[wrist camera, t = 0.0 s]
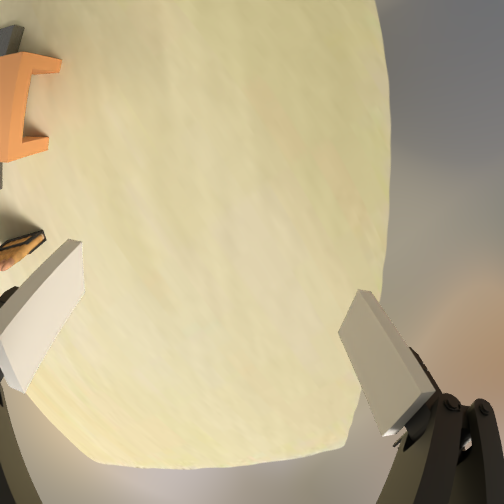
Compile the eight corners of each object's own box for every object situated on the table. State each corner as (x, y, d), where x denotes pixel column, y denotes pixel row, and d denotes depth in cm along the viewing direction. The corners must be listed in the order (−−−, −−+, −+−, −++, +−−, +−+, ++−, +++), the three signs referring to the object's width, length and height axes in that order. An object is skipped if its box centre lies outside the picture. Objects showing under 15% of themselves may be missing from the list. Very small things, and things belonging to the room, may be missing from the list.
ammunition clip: (43, 230, 39) (2, 263, 28) (47, 240, 40) (7, 275, 29) (6, 240, 39) (-33, 272, 28) (9, 249, 40) (-28, 282, 29)
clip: (38, 62, 27) (-2, 57, 18) (62, 60, 28) (23, 51, 19) (25, 148, 33) (-16, 161, 24) (47, 150, 34) (7, 162, 25)
